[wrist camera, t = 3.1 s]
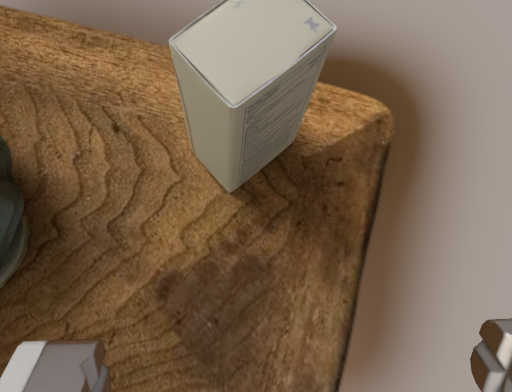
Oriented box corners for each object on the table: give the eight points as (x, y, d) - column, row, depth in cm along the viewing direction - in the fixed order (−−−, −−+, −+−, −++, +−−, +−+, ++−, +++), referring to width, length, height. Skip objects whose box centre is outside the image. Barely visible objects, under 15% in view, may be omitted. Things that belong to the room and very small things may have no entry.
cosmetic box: (254, 100, 31) (273, -40, 19) (297, 143, 30) (343, 25, 18) (186, 152, 29) (162, 35, 17) (229, 199, 28) (233, 109, 17)
